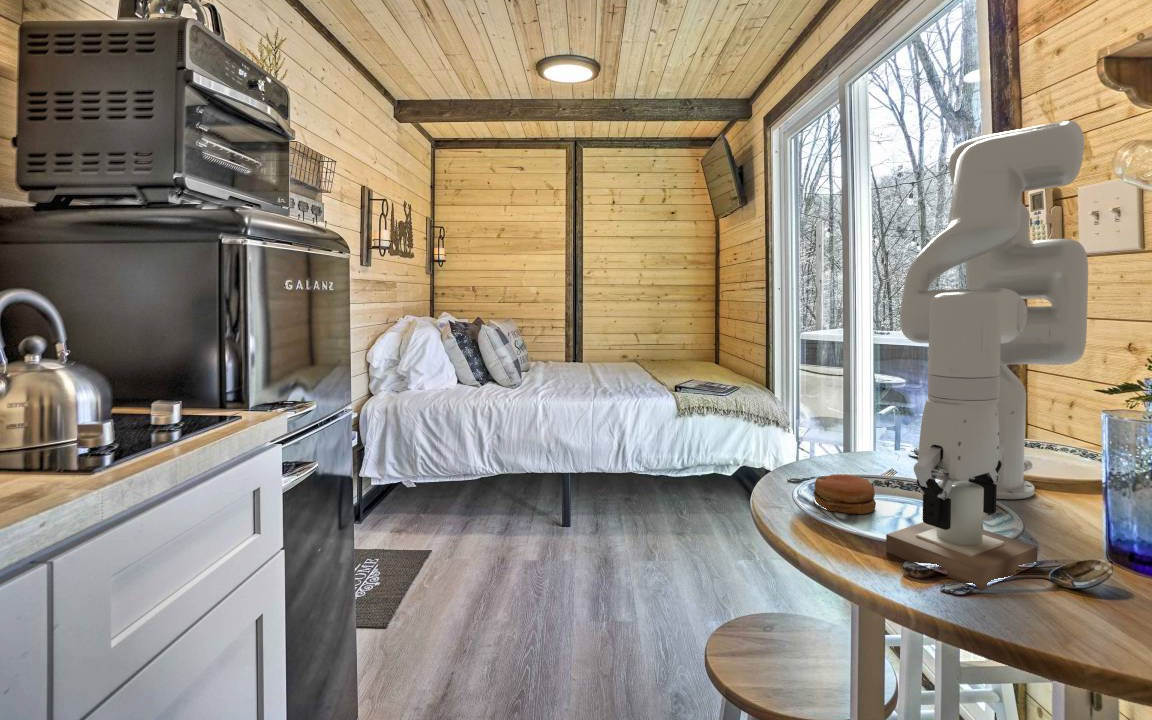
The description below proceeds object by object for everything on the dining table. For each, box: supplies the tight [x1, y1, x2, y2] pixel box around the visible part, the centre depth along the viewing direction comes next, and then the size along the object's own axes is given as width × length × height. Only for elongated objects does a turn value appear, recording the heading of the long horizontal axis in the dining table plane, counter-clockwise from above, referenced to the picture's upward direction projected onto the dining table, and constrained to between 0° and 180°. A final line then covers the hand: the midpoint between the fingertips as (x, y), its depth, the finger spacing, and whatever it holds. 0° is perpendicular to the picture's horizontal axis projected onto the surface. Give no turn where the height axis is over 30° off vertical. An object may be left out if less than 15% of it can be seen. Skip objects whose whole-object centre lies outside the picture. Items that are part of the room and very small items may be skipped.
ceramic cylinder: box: [937, 480, 984, 546], centre depth 74 cm, size 5×5×7 cm
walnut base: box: [885, 521, 1038, 591], centre depth 74 cm, size 12×12×3 cm
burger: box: [813, 473, 877, 515], centre depth 95 cm, size 10×9×5 cm
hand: (959, 518), depth 74 cm, fingers open, 9 cm apart
